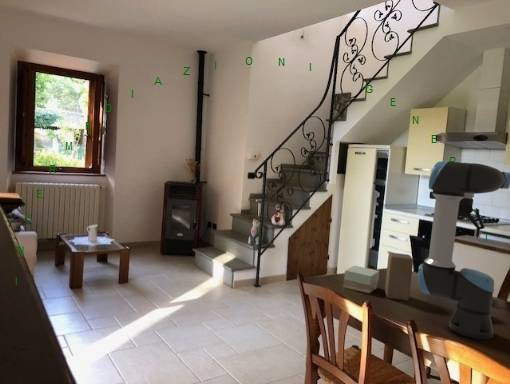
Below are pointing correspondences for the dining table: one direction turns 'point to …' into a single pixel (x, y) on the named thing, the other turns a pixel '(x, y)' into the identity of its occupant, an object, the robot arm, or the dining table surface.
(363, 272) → the tower top slab
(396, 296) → the block
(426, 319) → the dining table surface
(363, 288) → the tower base slab
